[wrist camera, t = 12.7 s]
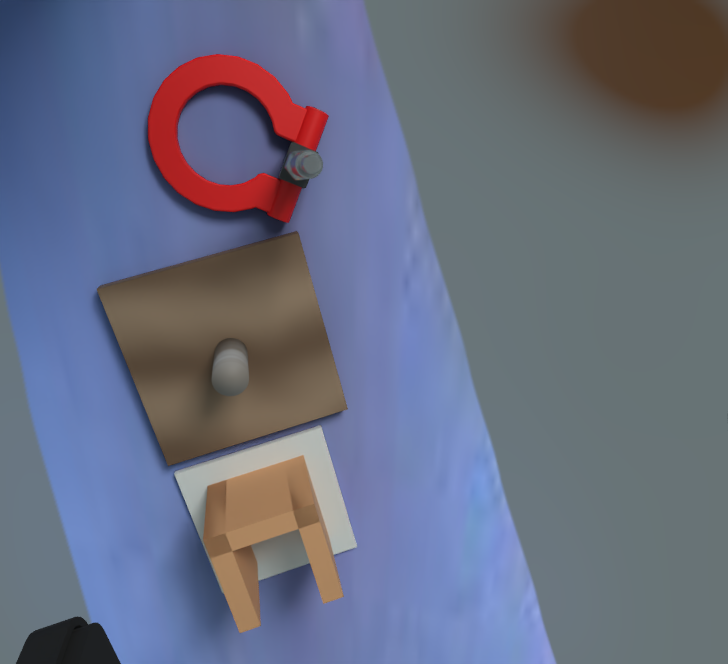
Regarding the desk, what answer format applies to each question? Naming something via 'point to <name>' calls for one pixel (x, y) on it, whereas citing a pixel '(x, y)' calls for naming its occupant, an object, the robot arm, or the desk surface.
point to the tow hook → (286, 121)
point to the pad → (310, 443)
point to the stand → (226, 346)
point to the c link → (264, 532)
